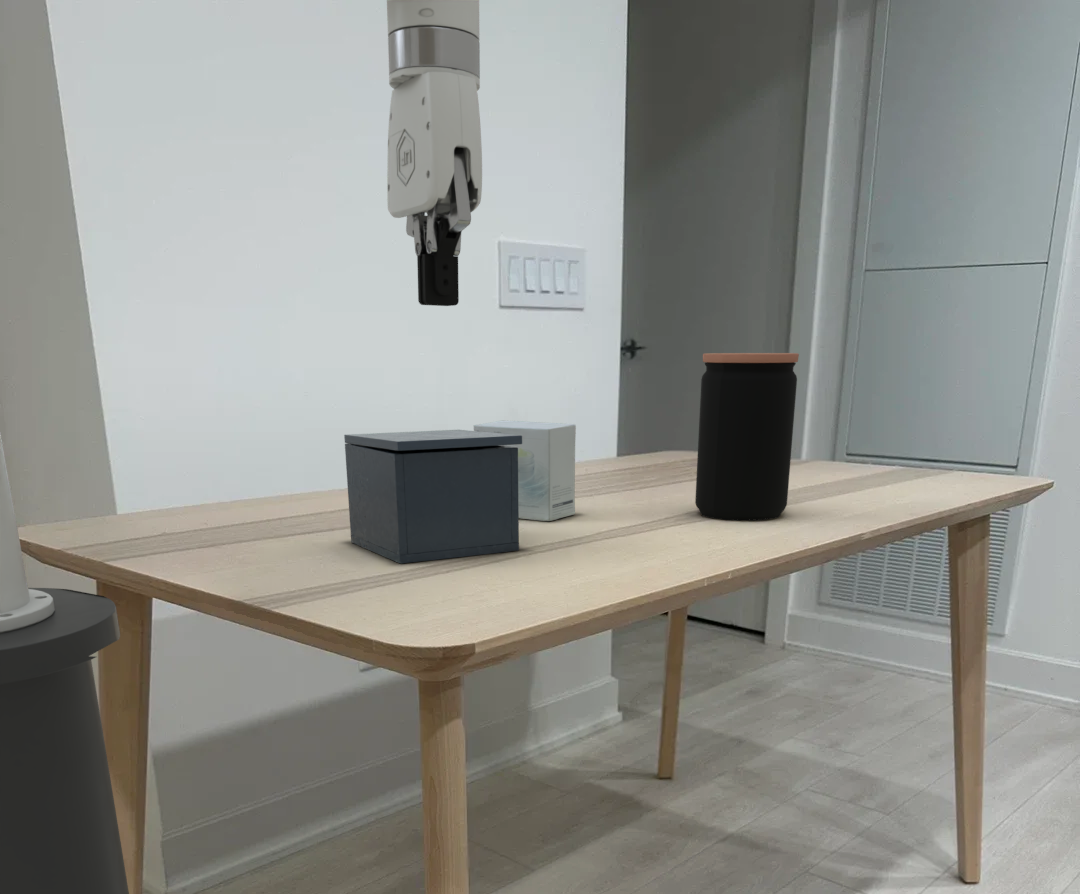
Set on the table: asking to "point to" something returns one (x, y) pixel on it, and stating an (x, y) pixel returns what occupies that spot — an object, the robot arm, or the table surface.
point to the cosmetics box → (542, 467)
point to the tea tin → (433, 501)
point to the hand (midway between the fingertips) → (438, 304)
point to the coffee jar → (745, 435)
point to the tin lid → (432, 439)
